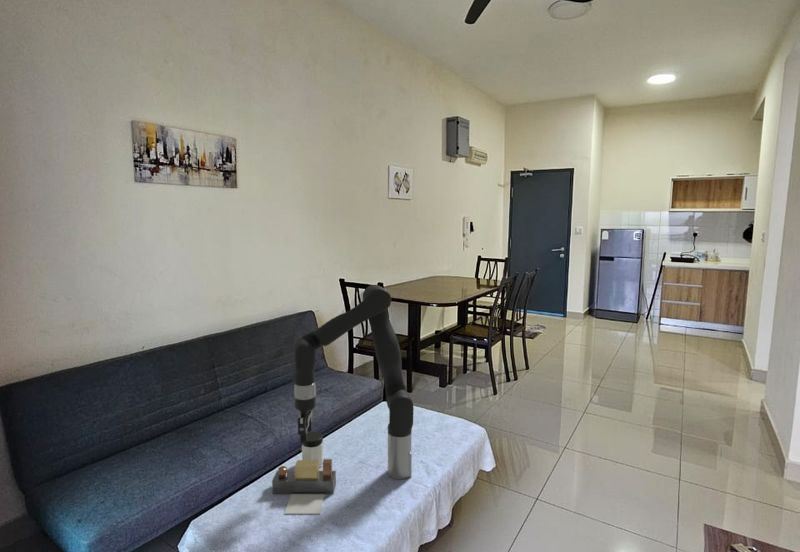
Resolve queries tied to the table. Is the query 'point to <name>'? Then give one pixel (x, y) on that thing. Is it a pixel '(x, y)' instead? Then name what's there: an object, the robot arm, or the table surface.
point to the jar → (313, 447)
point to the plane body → (305, 481)
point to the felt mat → (305, 504)
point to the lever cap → (306, 469)
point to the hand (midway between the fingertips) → (306, 436)
